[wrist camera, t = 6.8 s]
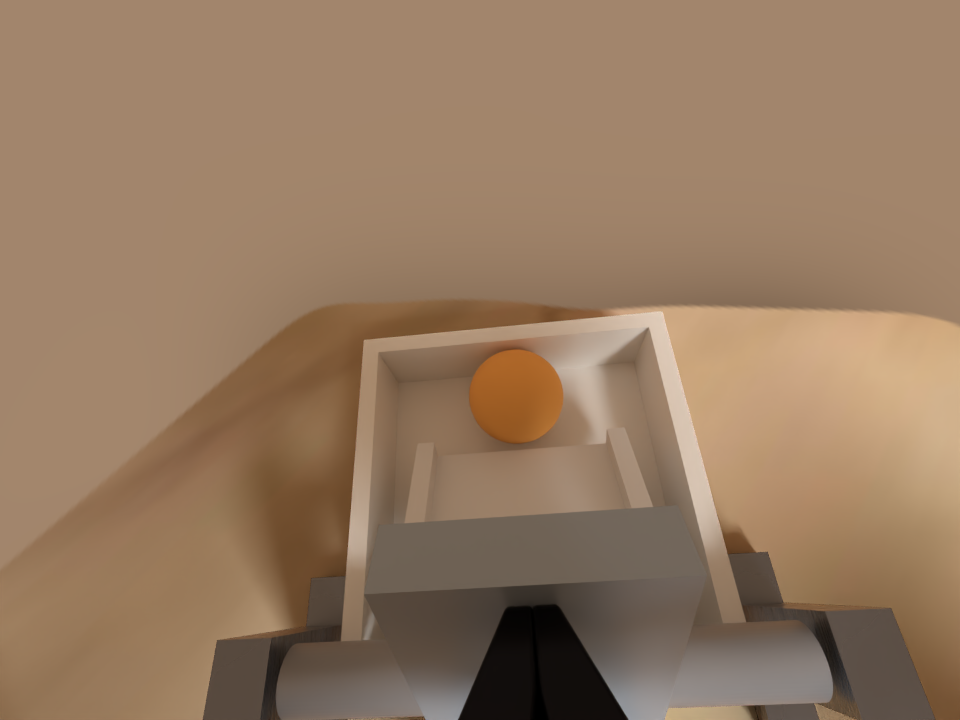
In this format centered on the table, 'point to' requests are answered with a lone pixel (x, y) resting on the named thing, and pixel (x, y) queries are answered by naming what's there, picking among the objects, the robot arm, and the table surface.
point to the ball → (516, 396)
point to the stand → (839, 629)
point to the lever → (544, 595)
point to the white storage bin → (583, 421)
